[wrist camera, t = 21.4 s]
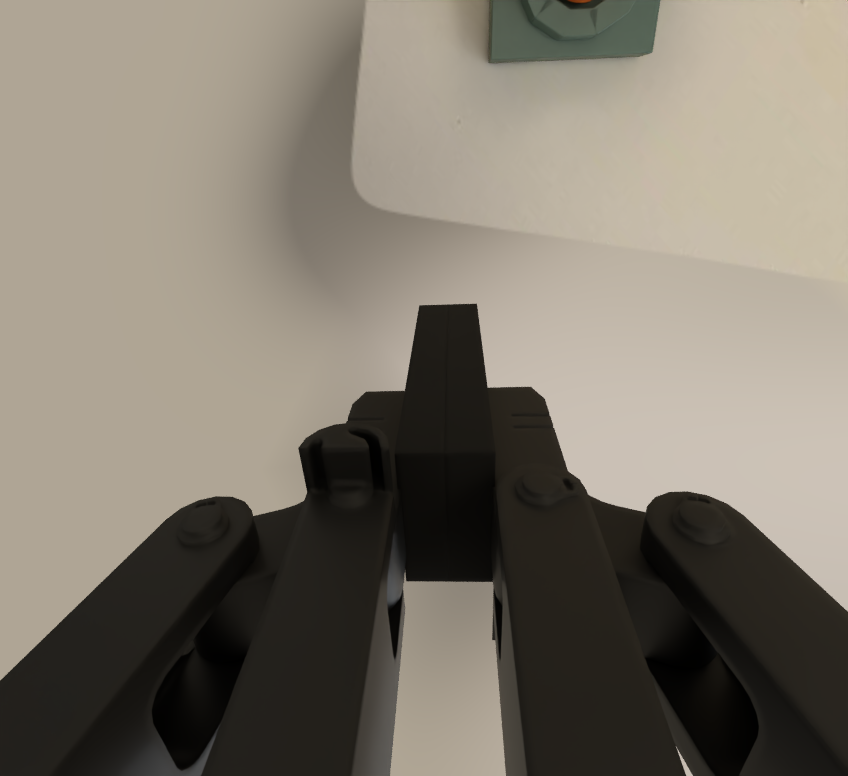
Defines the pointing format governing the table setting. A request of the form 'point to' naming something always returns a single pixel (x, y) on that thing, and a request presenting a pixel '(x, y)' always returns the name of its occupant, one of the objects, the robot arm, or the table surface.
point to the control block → (570, 29)
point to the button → (579, 1)
